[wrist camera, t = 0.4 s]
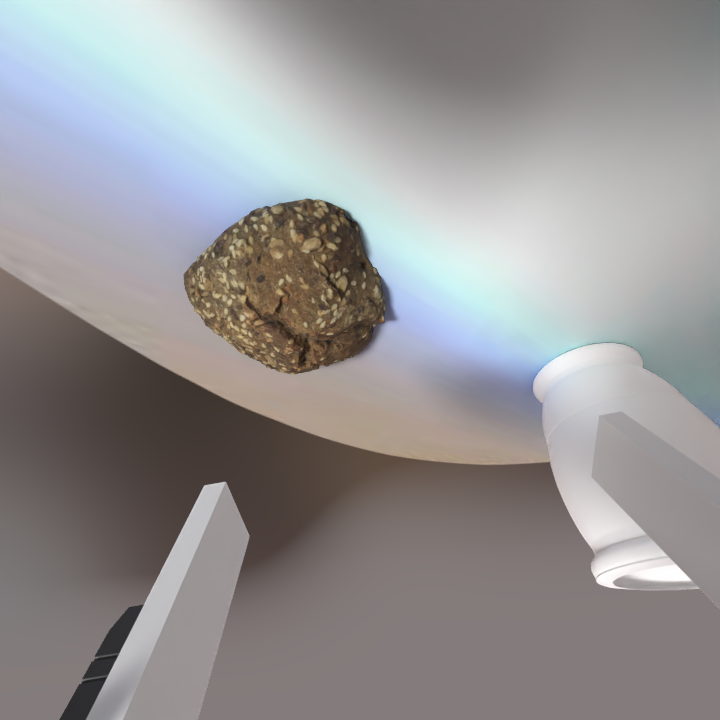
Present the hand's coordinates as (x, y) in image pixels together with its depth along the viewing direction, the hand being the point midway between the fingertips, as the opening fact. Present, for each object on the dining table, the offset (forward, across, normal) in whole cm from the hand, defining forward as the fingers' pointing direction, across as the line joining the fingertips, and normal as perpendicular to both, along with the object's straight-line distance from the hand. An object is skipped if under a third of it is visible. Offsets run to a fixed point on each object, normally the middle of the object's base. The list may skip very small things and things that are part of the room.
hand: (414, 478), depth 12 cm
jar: (+16, +17, -7) cm, 25 cm away
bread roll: (+15, -5, +4) cm, 16 cm away
